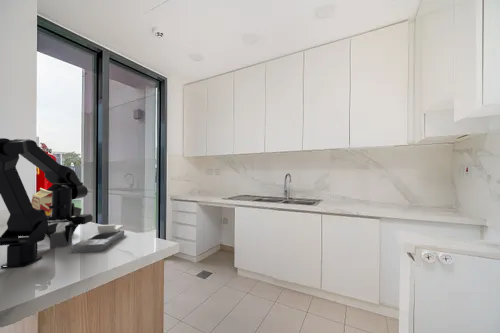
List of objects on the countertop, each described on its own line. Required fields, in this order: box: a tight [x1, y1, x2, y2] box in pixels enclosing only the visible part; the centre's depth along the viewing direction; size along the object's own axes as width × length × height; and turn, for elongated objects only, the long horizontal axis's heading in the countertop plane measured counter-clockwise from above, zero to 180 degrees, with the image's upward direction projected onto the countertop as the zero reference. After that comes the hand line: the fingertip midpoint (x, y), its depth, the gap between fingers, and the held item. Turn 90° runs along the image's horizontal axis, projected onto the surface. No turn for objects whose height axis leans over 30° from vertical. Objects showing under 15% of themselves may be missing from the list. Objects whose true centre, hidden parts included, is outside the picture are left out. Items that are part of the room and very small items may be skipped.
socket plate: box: [71, 229, 125, 254], centre depth 81 cm, size 17×10×2 cm, turn 10°
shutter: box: [97, 224, 124, 233], centre depth 89 cm, size 8×7×3 cm
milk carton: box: [30, 187, 52, 216], centre depth 98 cm, size 9×9×20 cm
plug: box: [49, 230, 73, 249], centre depth 79 cm, size 4×4×5 cm
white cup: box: [51, 213, 75, 231], centre depth 92 cm, size 8×8×10 cm
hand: (61, 242), depth 79 cm, fingers closed on plug, 4 cm apart
